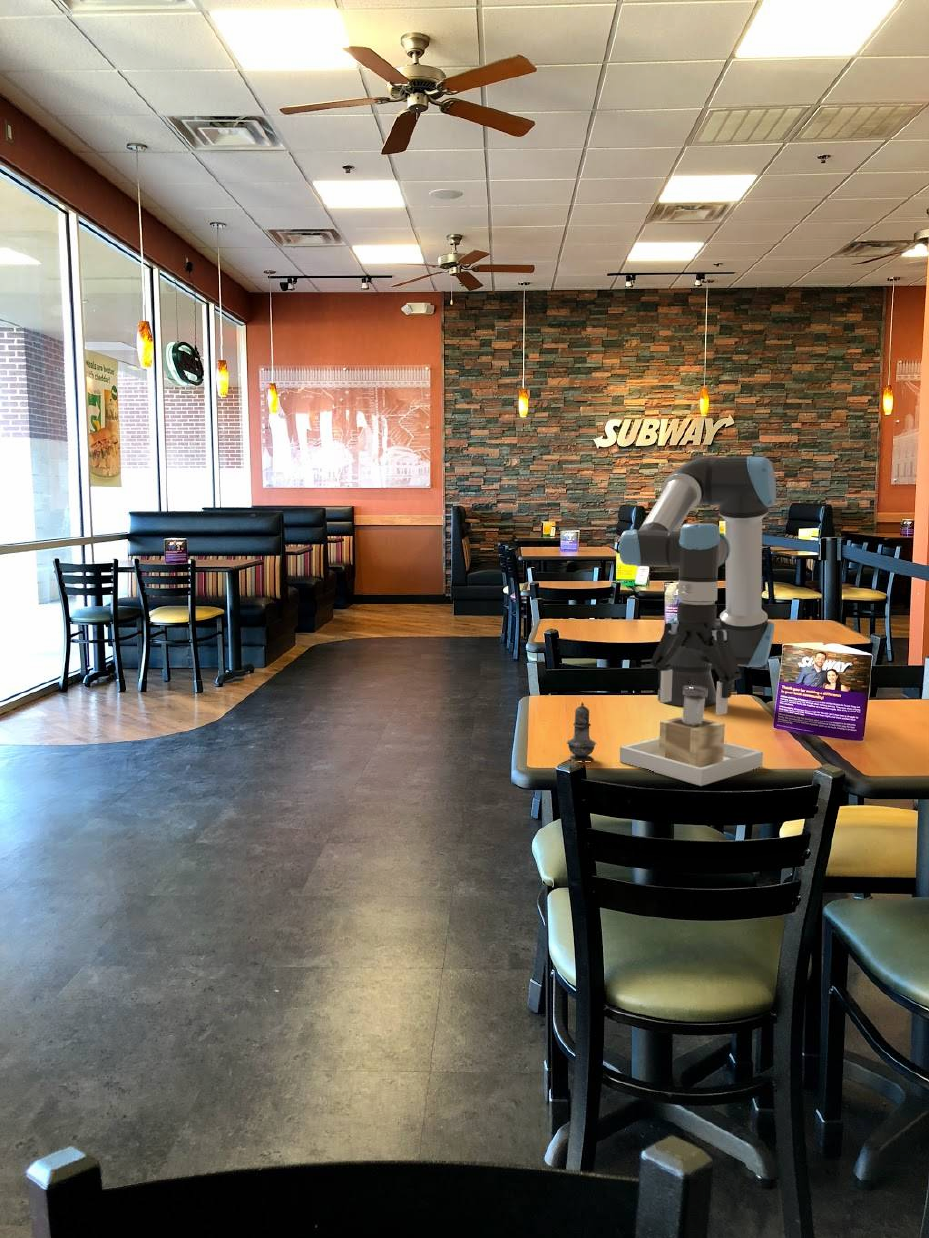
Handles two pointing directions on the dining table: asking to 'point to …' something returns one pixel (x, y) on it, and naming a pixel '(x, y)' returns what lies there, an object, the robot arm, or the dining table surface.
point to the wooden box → (692, 742)
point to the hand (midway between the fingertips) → (692, 707)
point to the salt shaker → (581, 736)
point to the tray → (732, 764)
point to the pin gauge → (693, 705)
